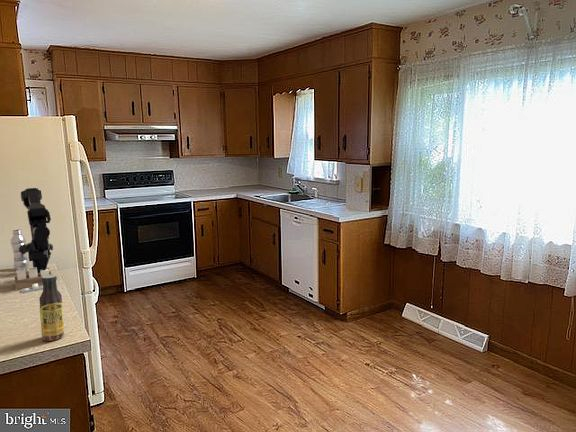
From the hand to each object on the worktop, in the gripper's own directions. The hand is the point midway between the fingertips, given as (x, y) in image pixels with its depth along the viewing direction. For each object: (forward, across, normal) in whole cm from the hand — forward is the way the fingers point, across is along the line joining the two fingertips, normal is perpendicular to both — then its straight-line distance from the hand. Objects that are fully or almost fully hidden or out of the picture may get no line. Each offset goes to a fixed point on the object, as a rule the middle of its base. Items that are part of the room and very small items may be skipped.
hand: (44, 270), depth 191 cm
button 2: (+5, 0, 0) cm, 5 cm away
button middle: (+3, +1, -4) cm, 6 cm away
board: (+6, +1, -4) cm, 7 cm away
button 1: (+3, +2, -9) cm, 9 cm away
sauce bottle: (+6, +67, +12) cm, 68 cm away
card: (+6, +9, -2) cm, 11 cm away
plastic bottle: (+6, -30, -15) cm, 34 cm away
